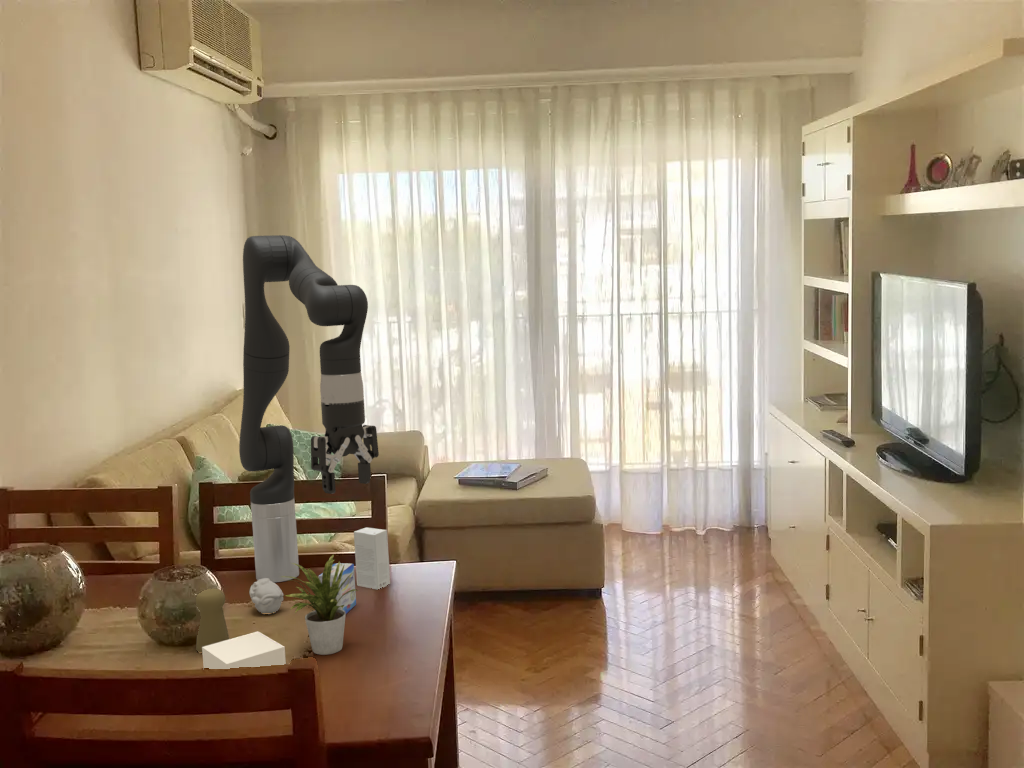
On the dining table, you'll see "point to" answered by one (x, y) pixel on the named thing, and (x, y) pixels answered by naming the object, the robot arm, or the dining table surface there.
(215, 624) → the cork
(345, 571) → the medicine box
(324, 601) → the house plant
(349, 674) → the dining table surface
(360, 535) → the skincare box
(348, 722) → the dining table surface
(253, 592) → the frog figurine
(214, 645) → the cream block
